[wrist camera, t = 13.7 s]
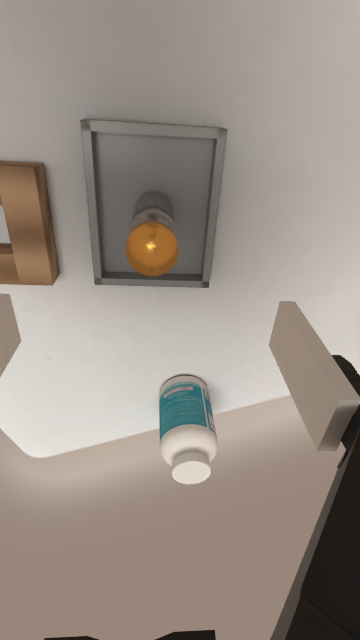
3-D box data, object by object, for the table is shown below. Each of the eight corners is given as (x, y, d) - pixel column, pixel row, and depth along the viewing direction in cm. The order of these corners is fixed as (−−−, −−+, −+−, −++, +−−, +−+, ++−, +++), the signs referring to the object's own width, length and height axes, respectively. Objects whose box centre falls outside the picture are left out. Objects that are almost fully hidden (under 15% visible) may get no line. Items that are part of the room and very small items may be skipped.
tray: (85, 119, 31) (80, 119, 29) (222, 127, 32) (226, 129, 30) (98, 275, 40) (94, 284, 38) (206, 278, 41) (208, 287, 39)
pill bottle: (149, 395, 51) (146, 478, 40) (179, 365, 48) (186, 445, 37) (187, 414, 54) (195, 497, 42) (218, 387, 51) (235, 468, 39)
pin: (135, 228, 36) (126, 275, 26) (134, 189, 34) (125, 225, 24) (171, 229, 37) (177, 276, 27) (173, 191, 35) (179, 227, 24)
